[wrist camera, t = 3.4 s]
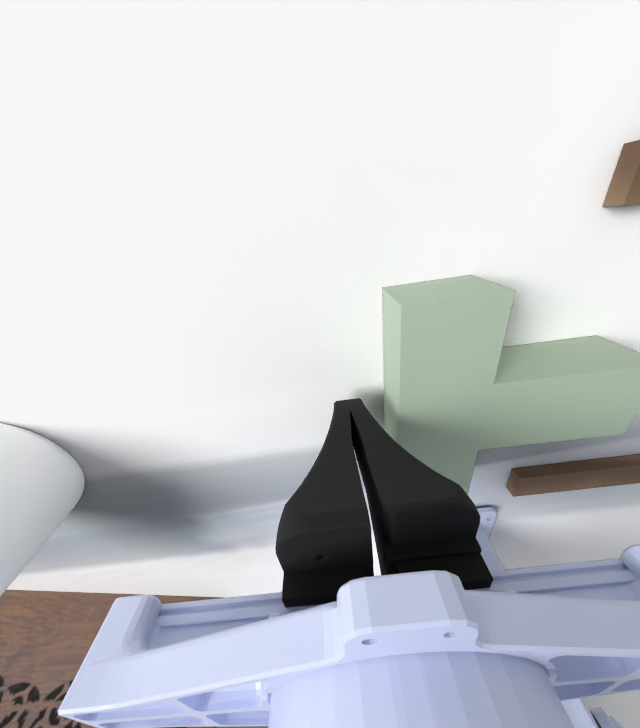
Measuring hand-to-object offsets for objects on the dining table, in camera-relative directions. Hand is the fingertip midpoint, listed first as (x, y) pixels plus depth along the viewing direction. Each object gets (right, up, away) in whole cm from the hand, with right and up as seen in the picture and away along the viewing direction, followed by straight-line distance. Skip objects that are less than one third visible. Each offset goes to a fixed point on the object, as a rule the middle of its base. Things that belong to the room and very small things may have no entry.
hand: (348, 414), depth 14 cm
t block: (+8, +2, +1) cm, 8 cm away
